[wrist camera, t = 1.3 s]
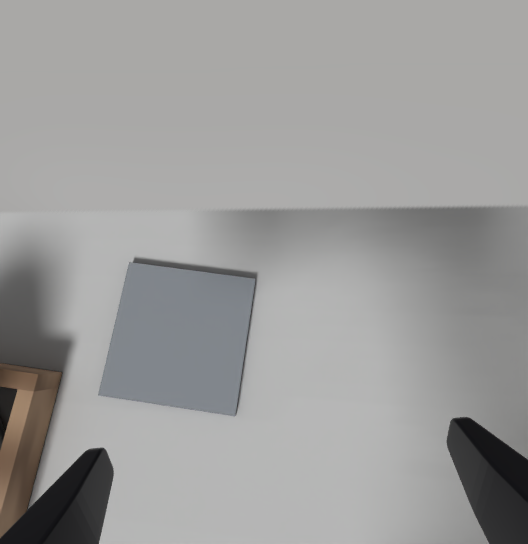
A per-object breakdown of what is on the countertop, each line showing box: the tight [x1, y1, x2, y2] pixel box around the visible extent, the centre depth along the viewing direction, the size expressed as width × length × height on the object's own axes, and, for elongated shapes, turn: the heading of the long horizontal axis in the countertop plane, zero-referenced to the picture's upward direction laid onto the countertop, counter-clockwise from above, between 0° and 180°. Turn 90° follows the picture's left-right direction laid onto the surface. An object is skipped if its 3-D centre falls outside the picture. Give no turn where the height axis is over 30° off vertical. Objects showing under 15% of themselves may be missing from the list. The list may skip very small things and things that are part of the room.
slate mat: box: [98, 262, 256, 416], centre depth 24 cm, size 9×9×1 cm
